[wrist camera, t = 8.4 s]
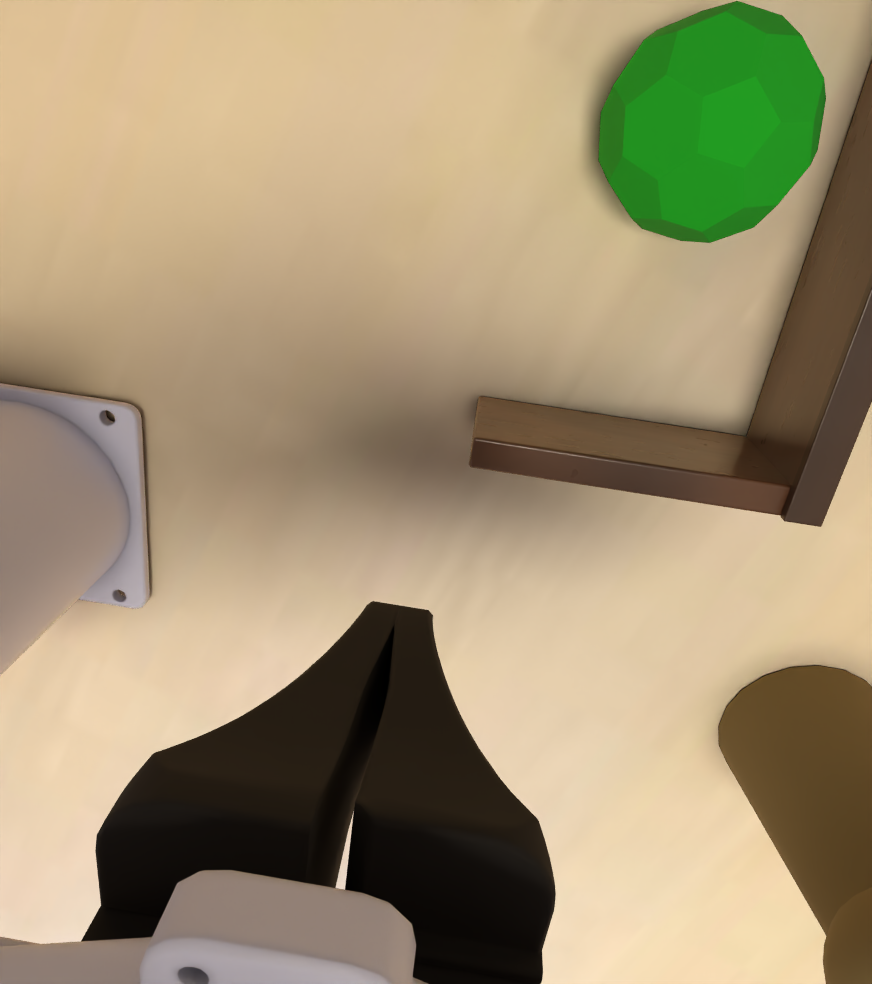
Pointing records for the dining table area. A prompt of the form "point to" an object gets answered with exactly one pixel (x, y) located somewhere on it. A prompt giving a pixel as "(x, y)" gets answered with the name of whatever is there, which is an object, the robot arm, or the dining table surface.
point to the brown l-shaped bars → (782, 404)
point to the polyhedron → (712, 123)
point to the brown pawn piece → (813, 796)
